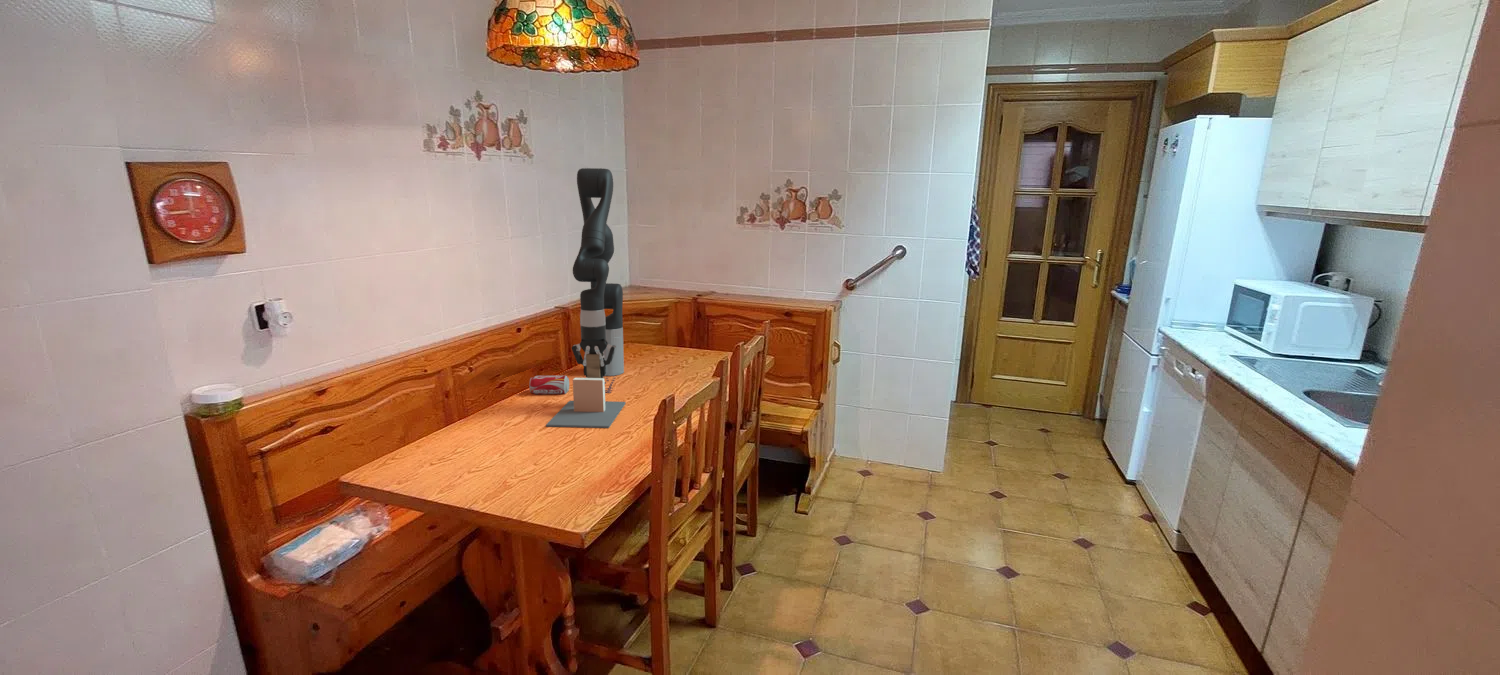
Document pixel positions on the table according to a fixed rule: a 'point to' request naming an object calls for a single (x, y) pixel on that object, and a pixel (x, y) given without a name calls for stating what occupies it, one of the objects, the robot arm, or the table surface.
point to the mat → (586, 416)
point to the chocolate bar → (609, 386)
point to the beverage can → (549, 385)
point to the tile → (589, 394)
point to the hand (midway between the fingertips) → (595, 376)
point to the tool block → (593, 365)
